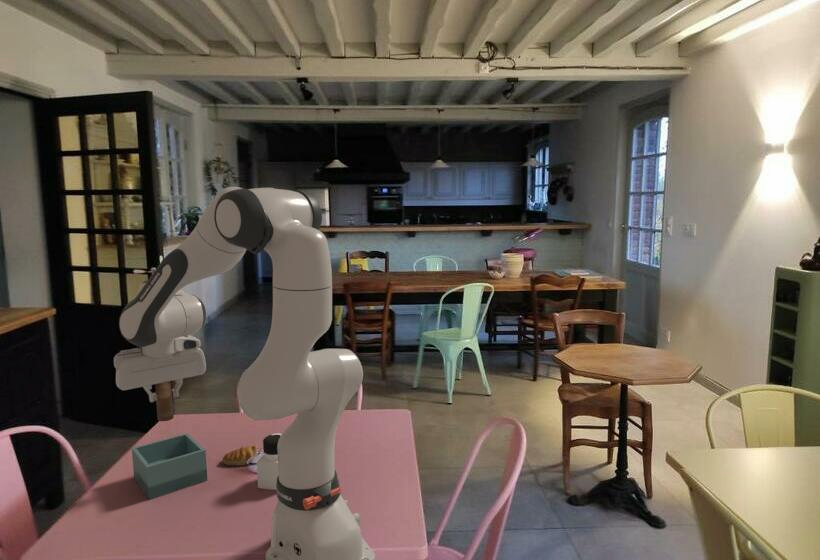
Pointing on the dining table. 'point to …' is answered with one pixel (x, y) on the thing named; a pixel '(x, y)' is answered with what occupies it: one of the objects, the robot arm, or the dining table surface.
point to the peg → (164, 401)
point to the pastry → (240, 455)
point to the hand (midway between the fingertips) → (164, 398)
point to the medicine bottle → (268, 463)
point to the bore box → (169, 465)
